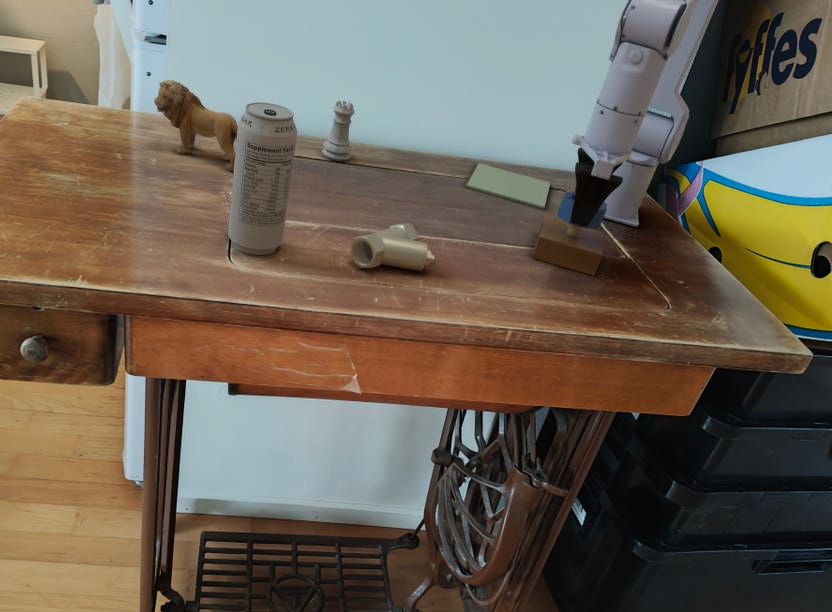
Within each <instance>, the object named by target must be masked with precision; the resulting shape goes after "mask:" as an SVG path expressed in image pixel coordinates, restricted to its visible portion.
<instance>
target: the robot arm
mask: <svg viewBox="0 0 832 612" xmlns="http://www.w3.org/2000/svg"><path fill="white" fill-rule="evenodd" d="M719 1H720V0H627V1H626V3H625V5H624V7H623V9H622V11H621V14H620V17H619V19H618V23H617V27H616V29H615V30H616V31H615V35H614V41H613V45H612V48H611V50H610V52H609V58H608V60H609V61H610V63H609V66H608V69H607V72H606V74H605V76H604V80H603V82H602V86H601V89H600V91H599V94H598V97H597V99H596V102H595V105H594V108H593V111H592V113H591V116H590V119H589V121H588V124H587V127H586V130H585V133H584V135H580V134H574V135H573V137H572V140H571V143H572V144H574V145H576V146H579V147H578V148H577V159H578V160H577V162H575V166H574V173H575V174H574V176H575V189H574V192H576V193H575V198H574V203H573V207H572V213H571V223H574V224H577V225H581V226H584V227H587V226H588V225H589V223H590V222H591V221H592V219H593V218H594V216H595V215H596V213H597V211H598V210H599V208H600V207H601V205H602V204H603V202H605V203H606V204H607V210H606V213H605V215H604V218H603V219H606V220H610V221H613V222H617V223H620V224H623V225H627V226H630V227H635V228H638V227H639V225H640V222H639V209H640V207H641V205H642V202H643V201H644V197H645V196H646V193H647V191H648V188H649V186H650V184H651V181H652V179H653V177H654V175H655V172H656V170H657V167H658V165H660V164H662V165H664V164H665V163H668V162H669V161H671V159H672V158H673V156H674V154H675V152H676V150H677V148H678V146H679V144H680V142H681V139H682V137H683V135H684V132H685V129H686V125H687V123H688V121H689V118H690V109H689V107H688V105H687V103H686V102H685V100H684V99H683V97H682V95H681V94H680V92H679V91H680V89H681V86H682V85H683V82H684V80H685V78H686V75H687V73H688V71H689V69H690V66H691V65H692V62H693V59H694V57H695V55H696V53H697V51H698V48H699V46H700V43H701V42H702V39H703V37H704V35H705V32H706V30H707V27H708V25H709V23H710V21H711V19H712V17H713V14H714V12H715V10H716V7H717V5H718V2H719ZM649 108H651V109H653V110H657V111H662V112H664V113H667V114H668V115H671V116H668V115H664V114H661V113H658V112H655V111H651V110H649Z"/></svg>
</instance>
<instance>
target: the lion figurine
mask: <svg viewBox="0 0 832 612" xmlns="http://www.w3.org/2000/svg"><path fill="white" fill-rule="evenodd" d="M158 84H159V89H158V94H157V97H155V98H154V100H153V103H154V105H155V106H156V110H157V112H158V113H162V115H163V116H164V117H165V118H166V119H168V120H169V121H170V125H171V126H172V127H174V128H176V129H178V130H179V134H180V140H181V147H177V150H176V151H177V153H178V154H181V155H182V154H186V153H188V152H189V150H190V149H193V148H194V146H195V142H196V136H197V135H199V136H201V137H203V138H204V137H205V138H215V137H216V140H217V143H218V145H219V147H220V149H221V150H222V152H223V153H224V154H222V155H221V159H222V160H225V161H230V163H227V164H226V170H227V171H228V172H229V171H230V172H234V164H235V153H236V152H235V150H234V145H235V141H236V142H237V131H238V123H237V121H236V120H237V119H235V117H234V116H233V115H231V114H230V113H227V112H220V111H219V112H218V111H215V110H211V109H209V108H206V107H205V106H204V105H203V103H202V101H201V99H200V98H199V97H198V96H197V95H195V93H194V92H191V90H190V89H189V88H188V87H187V86H185V85H184V84H182V83H181V82H179V81H176V80H172V79H166V80H162V82H159V83H158Z"/></svg>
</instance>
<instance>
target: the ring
mask: <svg viewBox="0 0 832 612" xmlns="http://www.w3.org/2000/svg"><path fill="white" fill-rule="evenodd" d="M575 193H576V192H575V191H564V192H563V195H562V198H561V201H560V204H559V206H558V209H557V217H558V218H560V220H562V221H566V222H567V223H569V224H572V225H575V226H579V227H582V228H590V229H599V228H601V225H602V222H603V220H604V219H605V218H604V215H605V213H606V210H607V204H606V203H605V202H603V204H602V205H601V207H600V208H599V210H598V211H597V213H596V215H595V216H594V218H593V219H592V221H591V222H590V223H589V225H588V226H587V227H584V226H581V225H577V224H574V223H571V213H572V207H573V203H574V198H575Z"/></svg>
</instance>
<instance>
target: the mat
mask: <svg viewBox="0 0 832 612" xmlns="http://www.w3.org/2000/svg"><path fill="white" fill-rule="evenodd" d="M465 186H466V188H468V189H472V190H476V191H479V192H483V193H486V194H488V195H489V194H490V195H493V196H496V197H500V198H503V199H507V200H511V201H514V202H517V203H521V204H525V205H528V206H532V207H535V208H539V209H542V210H544V209H545V207H546V203H547V198H548V194H549V191H550V186H551V182H549V181H546V180H541V179H539V178H535V177H531V176H527V175H523V174H521V173H517V172H513V171H509V170H506V169H502V168H498V167H495V166H491V165H488V164H485V163H481V162H478V163H477V165H476V167H475V169H474V171H473V172H472V174H471V177H470V178H469V180H468V182H467V183H466V185H465Z"/></svg>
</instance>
